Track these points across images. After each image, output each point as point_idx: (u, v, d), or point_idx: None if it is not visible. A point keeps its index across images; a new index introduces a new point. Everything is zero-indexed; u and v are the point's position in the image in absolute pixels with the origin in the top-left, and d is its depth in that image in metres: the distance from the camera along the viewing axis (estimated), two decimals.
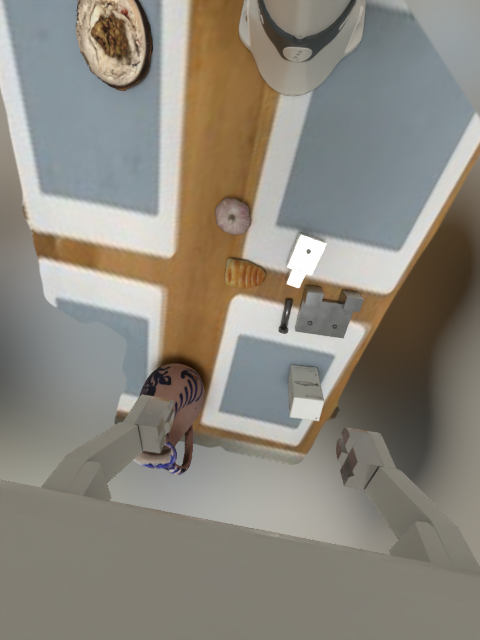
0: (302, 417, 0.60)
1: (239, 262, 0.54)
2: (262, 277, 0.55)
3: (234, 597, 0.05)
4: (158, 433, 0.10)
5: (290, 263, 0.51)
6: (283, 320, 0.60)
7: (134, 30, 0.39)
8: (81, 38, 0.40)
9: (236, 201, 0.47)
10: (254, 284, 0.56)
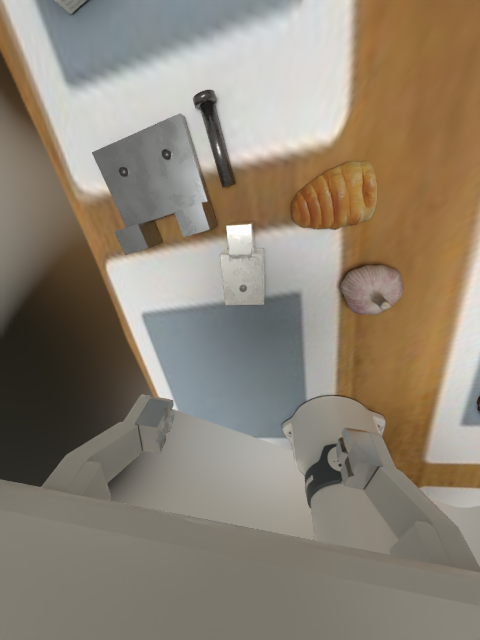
0: None
1: (348, 224, 0.29)
2: (297, 213, 0.29)
3: (234, 597, 0.05)
4: (158, 433, 0.10)
5: (260, 261, 0.31)
6: (217, 130, 0.27)
7: None
8: None
9: (370, 314, 0.32)
10: (308, 192, 0.28)
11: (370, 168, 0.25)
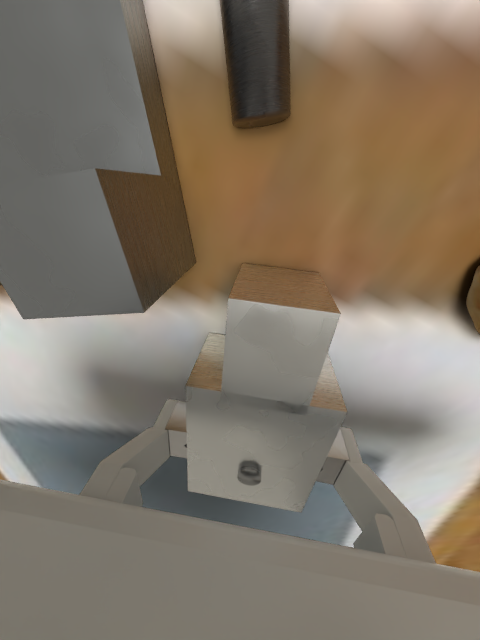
0: None
1: None
2: None
3: (234, 597, 0.05)
4: None
5: (330, 429, 0.08)
6: None
7: None
8: None
9: None
10: None
11: None
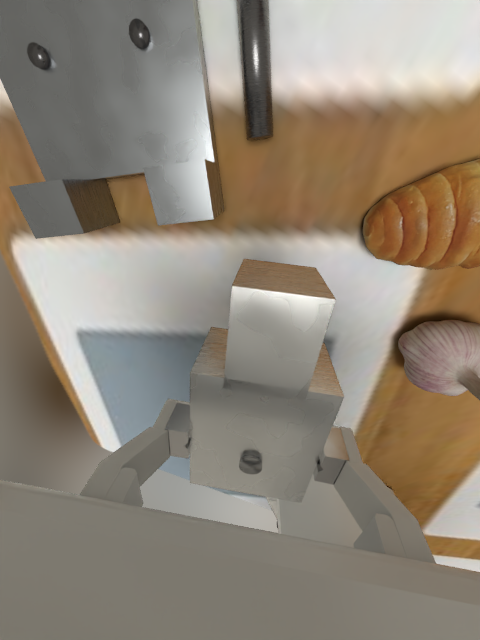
0: None
1: (459, 265, 0.17)
2: (378, 236, 0.16)
3: (234, 597, 0.05)
4: (188, 438, 0.10)
5: (328, 415, 0.09)
6: (261, 0, 0.12)
7: None
8: None
9: None
10: (410, 202, 0.15)
11: None
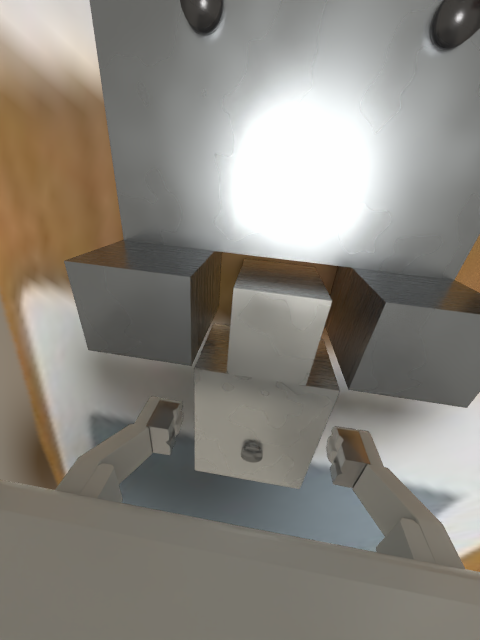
0: None
1: None
2: None
3: (234, 597, 0.05)
4: (169, 435, 0.10)
5: (324, 408, 0.09)
6: None
7: None
8: None
9: None
10: None
11: None
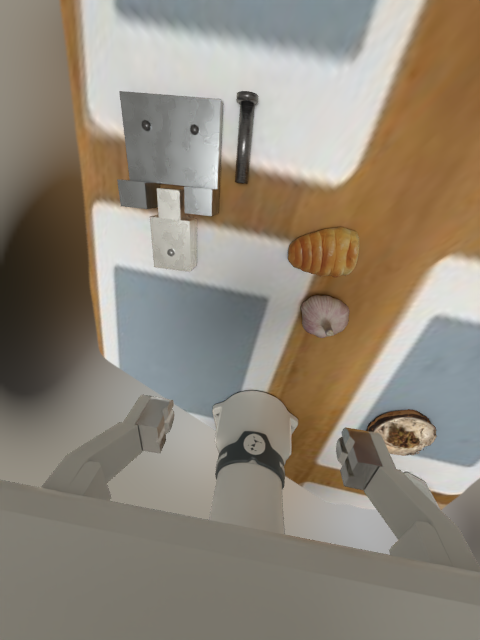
0: None
1: None
2: (292, 255, 0.34)
3: (234, 597, 0.05)
4: (158, 433, 0.10)
5: (187, 228, 0.33)
6: (248, 131, 0.28)
7: (380, 434, 0.50)
8: (429, 439, 0.49)
9: None
10: (305, 242, 0.33)
11: (357, 239, 0.31)
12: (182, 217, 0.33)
